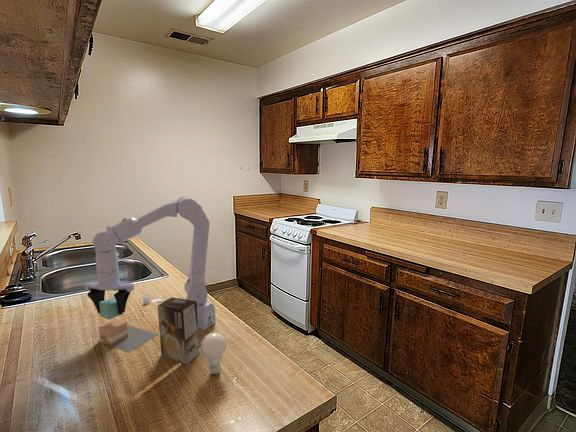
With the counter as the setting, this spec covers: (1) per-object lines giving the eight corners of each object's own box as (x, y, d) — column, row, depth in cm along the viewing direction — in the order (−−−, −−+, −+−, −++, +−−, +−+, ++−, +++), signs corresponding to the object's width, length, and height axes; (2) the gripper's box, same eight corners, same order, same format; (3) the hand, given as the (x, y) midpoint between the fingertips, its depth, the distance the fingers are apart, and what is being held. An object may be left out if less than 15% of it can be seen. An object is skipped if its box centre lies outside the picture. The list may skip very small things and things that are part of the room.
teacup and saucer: (164, 301, 131) (163, 292, 130) (153, 310, 123) (153, 300, 122) (143, 300, 132) (143, 291, 131) (132, 309, 124) (131, 299, 123)
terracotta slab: (127, 329, 100) (126, 321, 100) (111, 337, 96) (110, 329, 95) (115, 325, 103) (115, 318, 102) (99, 333, 98) (98, 326, 98)
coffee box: (200, 352, 94) (198, 300, 91) (186, 365, 88) (183, 310, 85) (175, 346, 97) (172, 296, 94) (160, 358, 91) (156, 305, 89)
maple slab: (128, 336, 101) (127, 329, 100) (111, 345, 96) (111, 337, 96) (116, 332, 103) (115, 325, 103) (100, 341, 98) (99, 333, 98)
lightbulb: (206, 365, 88) (204, 327, 86) (229, 365, 88) (228, 328, 86) (199, 380, 81) (197, 340, 80) (224, 381, 81) (222, 340, 80)
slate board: (159, 337, 102) (159, 334, 102) (128, 355, 92) (128, 352, 92) (129, 328, 108) (129, 325, 108) (97, 344, 99) (97, 341, 98)
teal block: (123, 313, 99) (121, 300, 98) (108, 319, 95) (107, 305, 95) (114, 310, 101) (113, 297, 101) (100, 316, 98) (98, 302, 97)
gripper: (138, 266, 99) (141, 307, 101) (94, 265, 101) (98, 306, 103) (124, 273, 92) (128, 318, 95) (77, 272, 94) (82, 316, 96)
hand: (111, 312), depth 98 cm, fingers closed on teal block, 6 cm apart
